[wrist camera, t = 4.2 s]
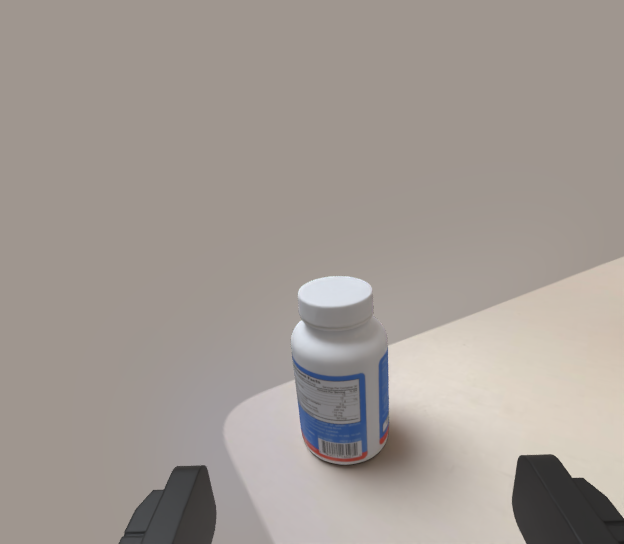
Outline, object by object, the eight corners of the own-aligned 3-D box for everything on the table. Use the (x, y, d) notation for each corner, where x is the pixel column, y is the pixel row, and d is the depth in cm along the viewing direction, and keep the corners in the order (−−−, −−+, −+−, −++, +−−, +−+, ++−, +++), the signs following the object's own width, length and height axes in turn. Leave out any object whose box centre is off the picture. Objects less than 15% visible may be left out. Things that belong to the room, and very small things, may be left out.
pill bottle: (348, 392, 27) (342, 264, 24) (407, 435, 23) (411, 288, 19) (283, 429, 24) (266, 289, 21) (338, 487, 20) (328, 323, 16)
